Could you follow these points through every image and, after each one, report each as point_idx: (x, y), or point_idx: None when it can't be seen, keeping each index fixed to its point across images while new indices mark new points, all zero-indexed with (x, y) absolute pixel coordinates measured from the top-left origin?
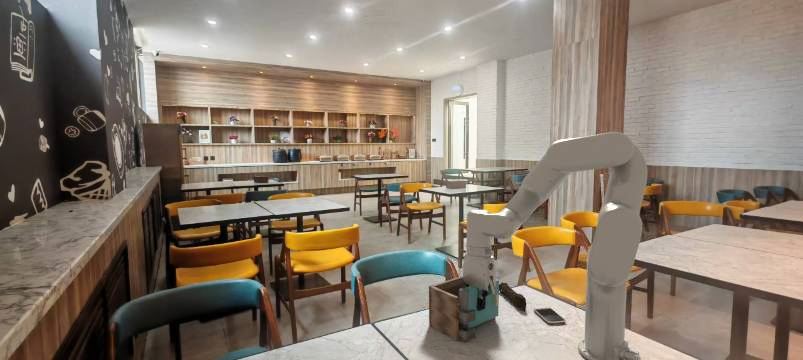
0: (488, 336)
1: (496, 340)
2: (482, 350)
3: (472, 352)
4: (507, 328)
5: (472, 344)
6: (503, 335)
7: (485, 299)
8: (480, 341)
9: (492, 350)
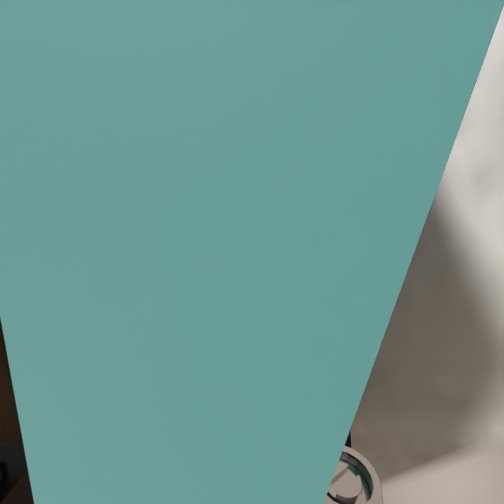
0: (397, 301)
1: (467, 317)
2: (435, 439)
3: (397, 471)
4: (481, 99)
5: (360, 416)
6: (489, 230)
7: (349, 441)
8: (382, 373)
9: (487, 419)
